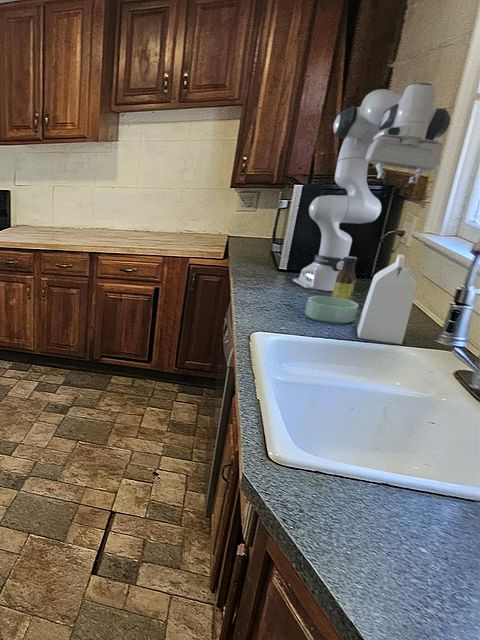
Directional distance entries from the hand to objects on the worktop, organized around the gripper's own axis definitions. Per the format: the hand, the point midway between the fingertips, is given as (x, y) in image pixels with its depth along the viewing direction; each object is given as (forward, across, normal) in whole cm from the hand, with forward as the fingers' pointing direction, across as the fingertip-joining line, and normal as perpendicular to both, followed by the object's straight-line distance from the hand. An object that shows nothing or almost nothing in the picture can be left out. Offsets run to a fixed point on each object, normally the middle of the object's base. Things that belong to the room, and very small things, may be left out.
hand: (396, 180), depth 167 cm
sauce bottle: (+39, -6, -32) cm, 51 cm away
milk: (+49, -8, -2) cm, 50 cm away
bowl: (+44, +1, -20) cm, 48 cm away
